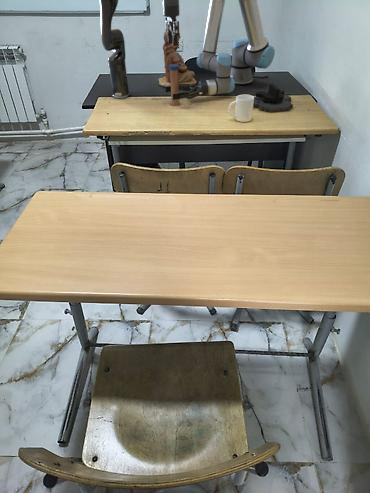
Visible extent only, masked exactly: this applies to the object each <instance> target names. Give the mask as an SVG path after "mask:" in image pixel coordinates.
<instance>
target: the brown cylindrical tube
mask: <svg viewBox="0 0 370 493" xmlns="http://www.w3.org/2000/svg"><path fill="white" fill-rule="evenodd" d="M170 82H171V92H170V100H171V101H170V102H171V105H172V106H179V105H180V99H175V100H173V95H172V94H176V93H180V90H179V83H178V70H170Z"/></svg>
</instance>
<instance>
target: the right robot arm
mask: <svg viewBox="0 0 370 493" xmlns="http://www.w3.org/2000/svg"><path fill="white" fill-rule="evenodd" d="M237 2H238V5H239V8H240V12H241V17H242V20H243V25H244V28H245V29H244V30H245V33H246V37H247V38H242V39H236V40H234V41H233V42H232V48H231V54H230V53H228V52H221V53H218V54H217V49H218V44H219V43H218V42H219V39H220V32H221V27H222V22H223V15H224V8H225V5H226V0H209V5H208V6H209V7H208V12H207V19H206V26H205V30H204V38H203V43H202V45H203V46H202V51H201V53H199V54H198V55H197V57H196V65H197V67H198V68H200V69H202V70H205V71H206V70H207V71H210V72H214V73H215V74H216V76H215V77H216V78H215V79H213V78H212V79H207V80H199V81H198V83H197V84H194V83H193V84H179V91H183V92H179V93H176V94H172V95H173V100H175V99H179V100H183V99H187V100H191V99H194V98H197V97H207V96H213V95H220V94H228V93H232V92H233V91H234V90H235V88H236V86H247V85H250V84H253V81H254V79H266V78H269V75H264V76H263V75H262V76H259V75H258V76H257V75H256V76H255V75H253V74H252V67H253V68H258V69H263V70H264V69H267V68H269V67H270V66H271V65H272V63H273V61H274V58H275V55H276V54H275V53H276V50H275V47H274V46H272V45H270V43H269V39H268V37H266V36H265V34H264V29H263V24H262V20H261V18H262V17H261V13H260V9H259V4H258V0H237ZM164 91H165V93H171V86H167V87H164Z"/></svg>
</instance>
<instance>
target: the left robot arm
mask: <svg viewBox="0 0 370 493" xmlns="http://www.w3.org/2000/svg"><path fill="white" fill-rule="evenodd" d="M118 5H119V0H99V6H100V39H101V44H102V47H103V49H104V50H105V51H107V52H110V51H113V53H112V54H111V55H110V56H109V57H108V58H107V64H108V70H109V75H110V83H111V89H112V97H113V98H114V99H125V98H128V97H130V90H129V89H130V88H129V82H128V81H129V79H128V74H127V66H126V65H127V64H126V42H125V37H124V33H123V32H122V30H121V29H119V28H114V29H112V21H113V18H114V15H115V13H116V10H117V7H118ZM162 12H163V17H164V23H165V24H164V28H165V31H166V32H167V34H168V43H172V42H173V46H177V45H178V38H177V37H178V36H179V33H180V21H179V20H177V17H179V16H180V0H162ZM177 31H178V32H177ZM175 32H176V33H175ZM172 36H173V41H172Z"/></svg>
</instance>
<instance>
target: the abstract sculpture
mask: <svg viewBox="0 0 370 493" xmlns="http://www.w3.org/2000/svg"><path fill="white" fill-rule="evenodd" d="M253 97H254V103H253V108H258V109H259V110H260V111H262V112H263V111H264V112H268V113H278V112H288V111H289V110H291V109H293V106H294V105H293V103H292V102H291V101H292V97H291V96H290V95H289V94H285V90H282V89H280V88H279V87H278V86H276V85H275V84H274V83H269V86H268V91H267V92H266V91H263V90H261V91H260V90H259V91H257V92H255V96H253Z"/></svg>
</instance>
